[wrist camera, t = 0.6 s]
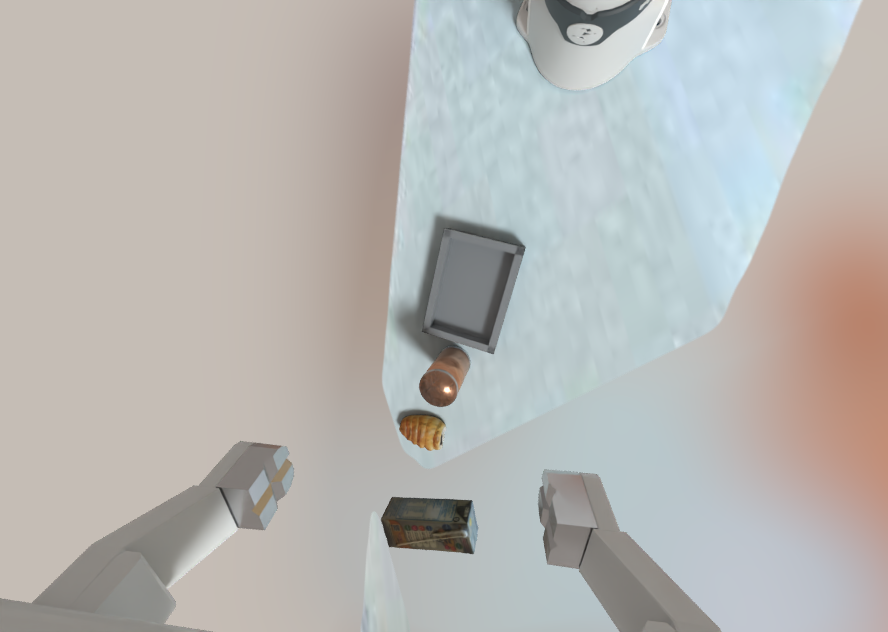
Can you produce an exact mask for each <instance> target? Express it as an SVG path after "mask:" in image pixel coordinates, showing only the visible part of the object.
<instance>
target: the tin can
mask: <svg viewBox="0 0 888 632" xmlns="http://www.w3.org/2000/svg"><path fill="white" fill-rule="evenodd" d="M469 368H470V358H469V355H468V354H467V353H466V351H465V350H463V349H462V348H460V347H457V346H449V347H446V348H445V349H443V350H442V351H441V353H440V354H439V356H438V357H437V358H436V360H435V361H434V362H433V364H432V365H431V366H430V368H429V369H428V370H427V372H426V373H425V374H424V375H423V377H422V378H421V380H420V384H419V389H420V393H421V395H422V397H423V398H424V399H425V400H426V401H427V402H428V403H430V404H431V405H434V406H437V407H444V406H448V405H450V404H451V403H453V402H454V400H455V399H456V397H457V394H458V392H459V389H460V387H461V385H462V383H463V381H464V378H465V376H466V374H467V372H468V370H469Z"/></svg>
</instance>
